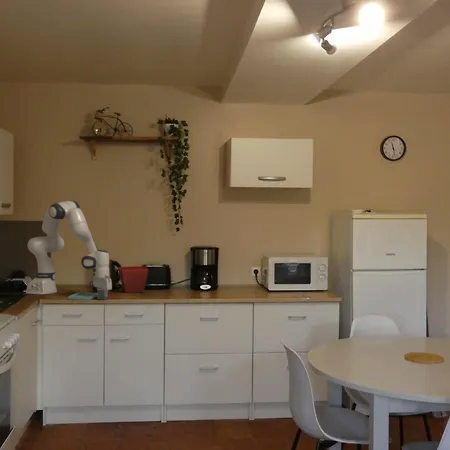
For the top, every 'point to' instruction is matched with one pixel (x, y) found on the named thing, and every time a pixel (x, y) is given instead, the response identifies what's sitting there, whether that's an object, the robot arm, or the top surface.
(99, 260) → the robot arm
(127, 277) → the plant pot
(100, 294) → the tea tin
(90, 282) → the coffee mug
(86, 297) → the tray
